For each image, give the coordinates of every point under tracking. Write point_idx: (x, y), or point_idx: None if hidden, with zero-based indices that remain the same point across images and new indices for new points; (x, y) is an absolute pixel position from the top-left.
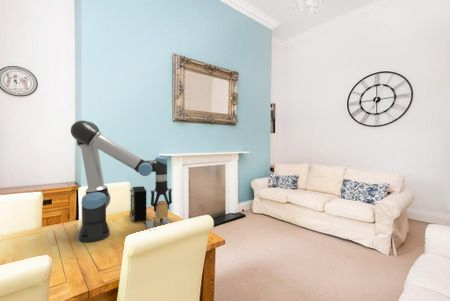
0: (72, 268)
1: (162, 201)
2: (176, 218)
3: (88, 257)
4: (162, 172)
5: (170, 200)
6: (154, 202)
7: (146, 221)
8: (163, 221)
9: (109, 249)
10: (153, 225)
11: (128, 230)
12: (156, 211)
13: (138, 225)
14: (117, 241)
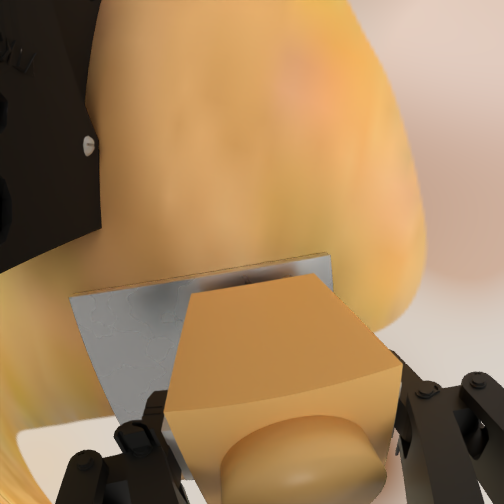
0: None
1: (334, 494)
2: (406, 269)
3: (2, 499)
4: None
5: (474, 462)
6: (133, 499)
7: (97, 294)
8: None
9: (29, 499)
10: None
11: (12, 388)
12: None
13: (46, 329)
14: (22, 471)
